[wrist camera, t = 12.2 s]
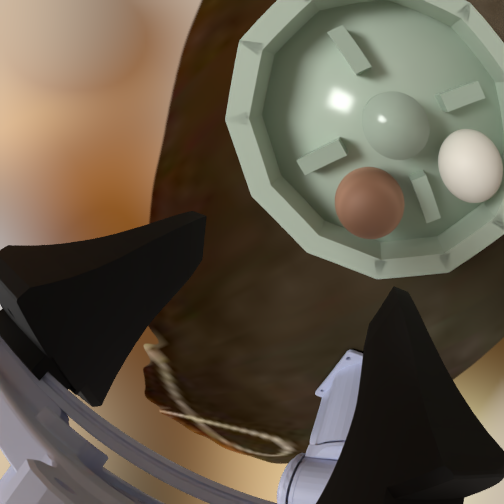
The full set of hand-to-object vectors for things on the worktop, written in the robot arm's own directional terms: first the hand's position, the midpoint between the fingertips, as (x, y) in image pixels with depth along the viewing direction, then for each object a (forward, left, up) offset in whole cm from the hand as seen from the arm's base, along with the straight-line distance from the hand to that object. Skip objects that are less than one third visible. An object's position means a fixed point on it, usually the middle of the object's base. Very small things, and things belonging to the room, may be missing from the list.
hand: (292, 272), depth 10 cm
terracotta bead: (+1, -3, -9) cm, 9 cm away
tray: (+6, -3, -10) cm, 12 cm away
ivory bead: (+6, -7, -9) cm, 13 cm away
